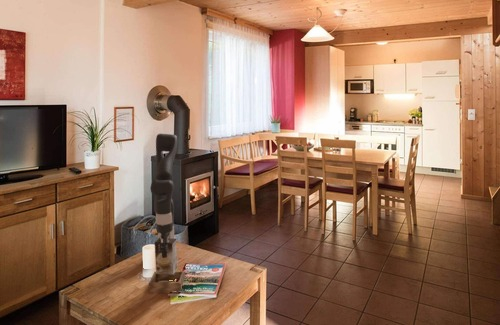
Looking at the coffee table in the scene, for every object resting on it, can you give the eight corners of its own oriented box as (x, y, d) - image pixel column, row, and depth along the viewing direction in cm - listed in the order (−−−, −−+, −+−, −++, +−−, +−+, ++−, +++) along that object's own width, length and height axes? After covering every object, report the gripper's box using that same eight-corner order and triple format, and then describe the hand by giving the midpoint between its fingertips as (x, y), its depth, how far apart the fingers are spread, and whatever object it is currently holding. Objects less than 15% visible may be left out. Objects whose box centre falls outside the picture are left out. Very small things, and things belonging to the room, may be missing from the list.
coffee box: (155, 273, 177) (153, 242, 174) (160, 267, 183) (158, 237, 180) (173, 275, 175) (172, 243, 172) (178, 268, 182) (176, 238, 179)
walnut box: (149, 293, 174) (148, 283, 173) (155, 280, 186) (154, 271, 185) (180, 292, 175) (180, 282, 174) (184, 280, 186) (184, 271, 186)
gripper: (159, 216, 182) (161, 248, 185) (152, 226, 168) (154, 260, 170) (174, 216, 182) (176, 248, 185) (169, 226, 168) (171, 260, 171)
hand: (166, 254), depth 178 cm, fingers closed on coffee box, 7 cm apart
